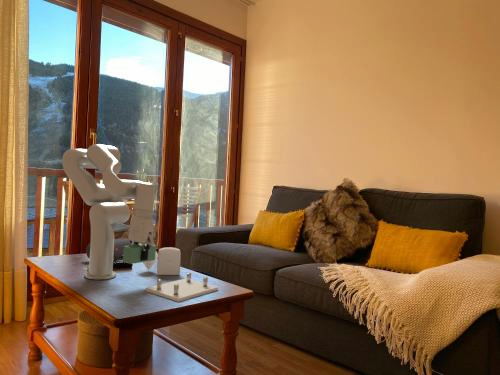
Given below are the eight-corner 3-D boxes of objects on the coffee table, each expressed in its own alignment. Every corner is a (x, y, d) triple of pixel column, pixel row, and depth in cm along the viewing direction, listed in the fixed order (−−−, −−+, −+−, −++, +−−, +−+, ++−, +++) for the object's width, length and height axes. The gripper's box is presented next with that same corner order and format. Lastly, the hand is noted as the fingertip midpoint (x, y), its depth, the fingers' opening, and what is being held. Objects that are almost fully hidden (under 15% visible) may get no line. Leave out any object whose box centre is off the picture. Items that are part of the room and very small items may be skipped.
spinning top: (137, 270, 186) (139, 244, 186) (153, 268, 190) (155, 243, 190) (142, 274, 180) (144, 247, 179) (159, 272, 184) (160, 246, 183)
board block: (122, 261, 156) (123, 246, 156) (146, 257, 166) (148, 243, 166) (130, 263, 153) (132, 248, 153) (154, 260, 163) (156, 245, 163)
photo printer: (156, 275, 179) (158, 248, 178) (156, 273, 183) (158, 246, 182) (179, 276, 180) (181, 248, 180) (179, 273, 185) (181, 247, 184)
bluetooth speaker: (97, 264, 193) (98, 243, 193) (84, 260, 198) (85, 240, 197) (133, 257, 212) (134, 238, 212) (120, 254, 217) (121, 236, 217)
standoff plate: (145, 290, 154) (146, 278, 154) (185, 281, 172) (186, 270, 172) (178, 301, 144) (179, 288, 144) (217, 290, 162) (218, 278, 162)
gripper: (122, 210, 161) (118, 255, 162) (150, 217, 151) (145, 264, 152) (137, 210, 167) (133, 253, 168) (165, 216, 157) (160, 262, 158)
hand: (139, 258), depth 160 cm, fingers closed on board block, 5 cm apart
